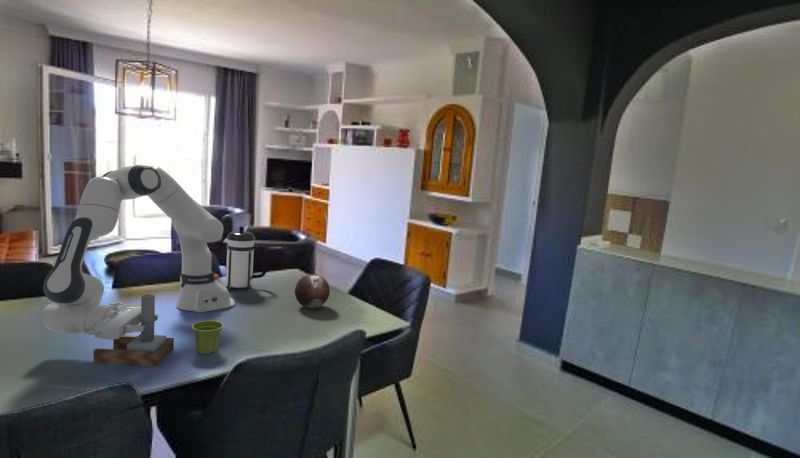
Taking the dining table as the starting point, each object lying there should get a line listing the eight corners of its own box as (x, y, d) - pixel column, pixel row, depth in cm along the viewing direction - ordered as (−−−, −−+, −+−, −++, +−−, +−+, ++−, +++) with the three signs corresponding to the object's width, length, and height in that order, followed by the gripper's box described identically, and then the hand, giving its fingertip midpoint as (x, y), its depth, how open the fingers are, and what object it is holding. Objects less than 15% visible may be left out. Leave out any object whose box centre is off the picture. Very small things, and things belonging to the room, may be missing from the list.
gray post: (166, 350, 146) (167, 293, 143) (154, 361, 138) (155, 301, 135) (140, 349, 145) (140, 291, 142) (127, 360, 137) (127, 299, 134)
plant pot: (197, 343, 154) (197, 319, 153) (225, 345, 155) (226, 321, 154) (186, 355, 145) (187, 329, 144) (217, 357, 146) (218, 331, 144)
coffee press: (237, 294, 209) (240, 230, 205) (215, 287, 217) (218, 225, 213) (267, 287, 224) (270, 227, 220) (245, 280, 232) (248, 222, 228)
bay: (173, 349, 148) (173, 338, 147) (157, 366, 136) (157, 353, 136) (115, 346, 146) (115, 334, 146) (93, 363, 135) (93, 350, 134)
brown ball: (304, 315, 191) (307, 280, 189) (287, 304, 202) (289, 271, 200) (334, 310, 201) (337, 277, 199) (317, 300, 212) (319, 269, 210)
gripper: (82, 322, 128) (134, 325, 129) (120, 300, 148) (164, 302, 150) (82, 343, 129) (133, 346, 130) (120, 318, 149) (164, 321, 151)
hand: (150, 323), depth 140 cm, fingers open, 7 cm apart
